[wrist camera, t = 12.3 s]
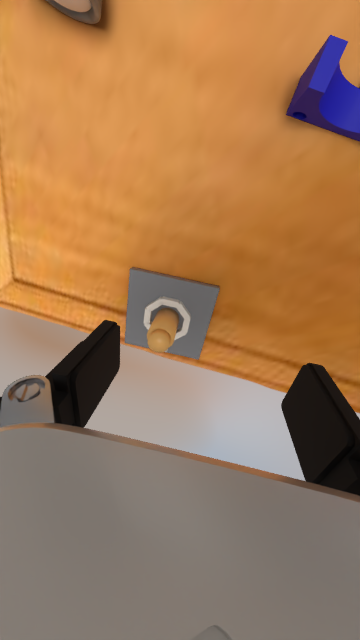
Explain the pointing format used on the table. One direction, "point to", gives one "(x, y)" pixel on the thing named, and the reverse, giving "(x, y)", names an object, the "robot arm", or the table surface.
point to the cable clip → (328, 93)
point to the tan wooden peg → (163, 330)
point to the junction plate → (173, 293)
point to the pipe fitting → (79, 9)
